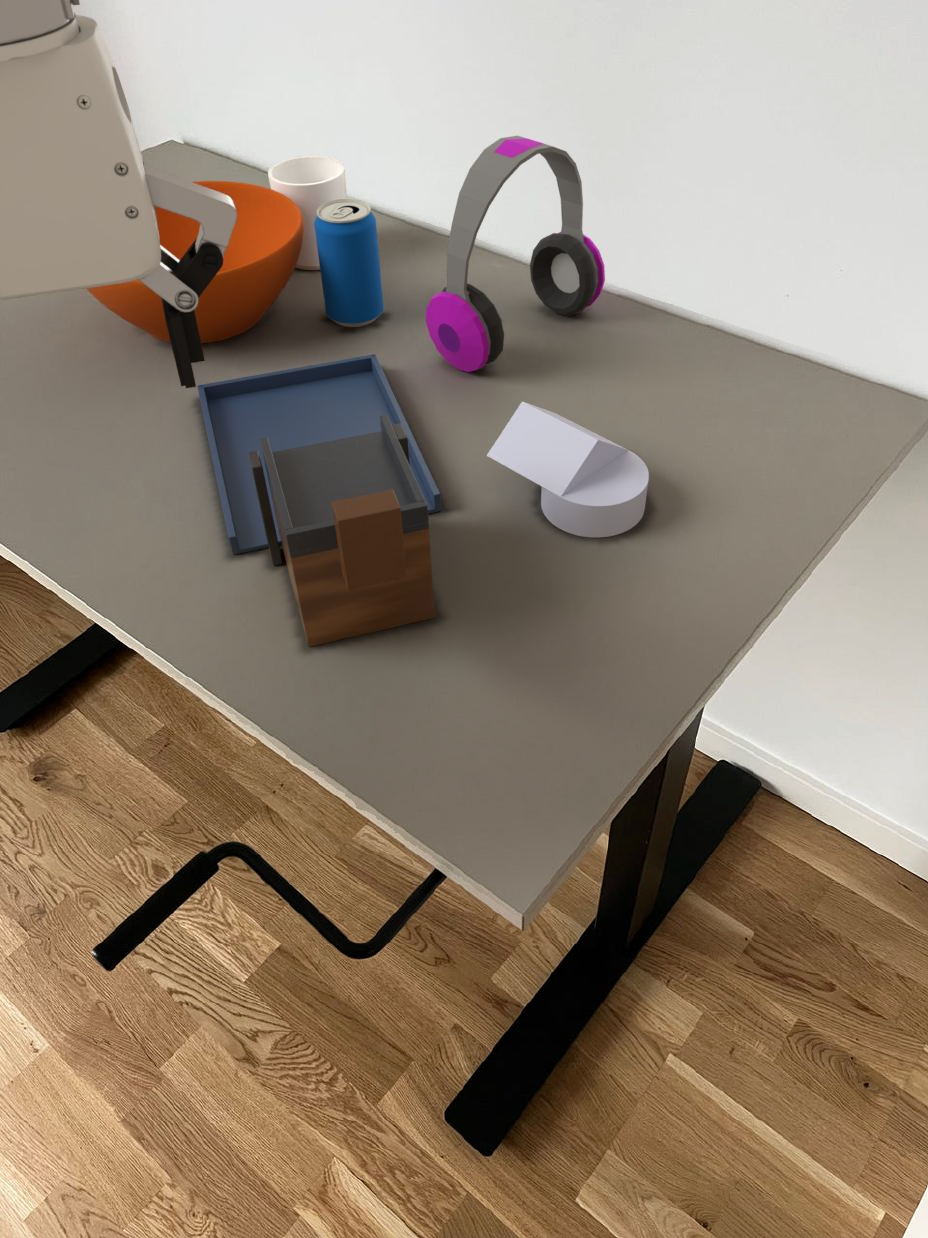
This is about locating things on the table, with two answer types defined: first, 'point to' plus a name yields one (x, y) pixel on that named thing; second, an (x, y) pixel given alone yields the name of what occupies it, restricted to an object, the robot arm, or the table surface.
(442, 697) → the table surface
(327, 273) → the beverage can
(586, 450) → the wedge on round base
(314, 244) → the mug
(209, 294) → the bowl
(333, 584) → the stand
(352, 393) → the tray
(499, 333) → the headphones
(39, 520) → the table surface
